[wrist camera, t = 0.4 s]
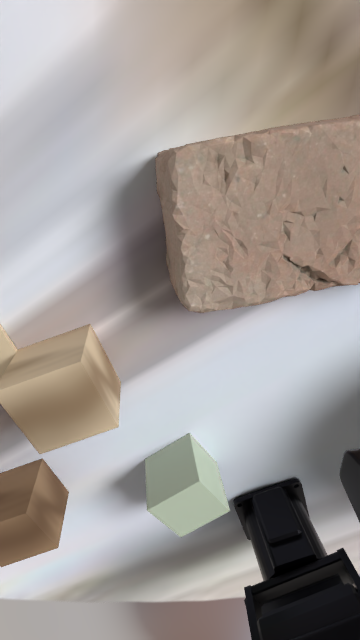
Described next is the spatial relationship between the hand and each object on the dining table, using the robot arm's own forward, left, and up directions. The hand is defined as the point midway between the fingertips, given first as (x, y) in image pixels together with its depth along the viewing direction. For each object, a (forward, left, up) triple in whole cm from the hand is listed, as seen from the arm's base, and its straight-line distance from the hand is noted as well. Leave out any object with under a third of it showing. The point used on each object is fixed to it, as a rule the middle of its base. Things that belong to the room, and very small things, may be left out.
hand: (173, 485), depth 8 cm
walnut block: (-12, +15, -14) cm, 24 cm away
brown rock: (+2, -10, -14) cm, 18 cm away
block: (-15, +3, -14) cm, 21 cm away
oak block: (-3, +7, -14) cm, 16 cm away
